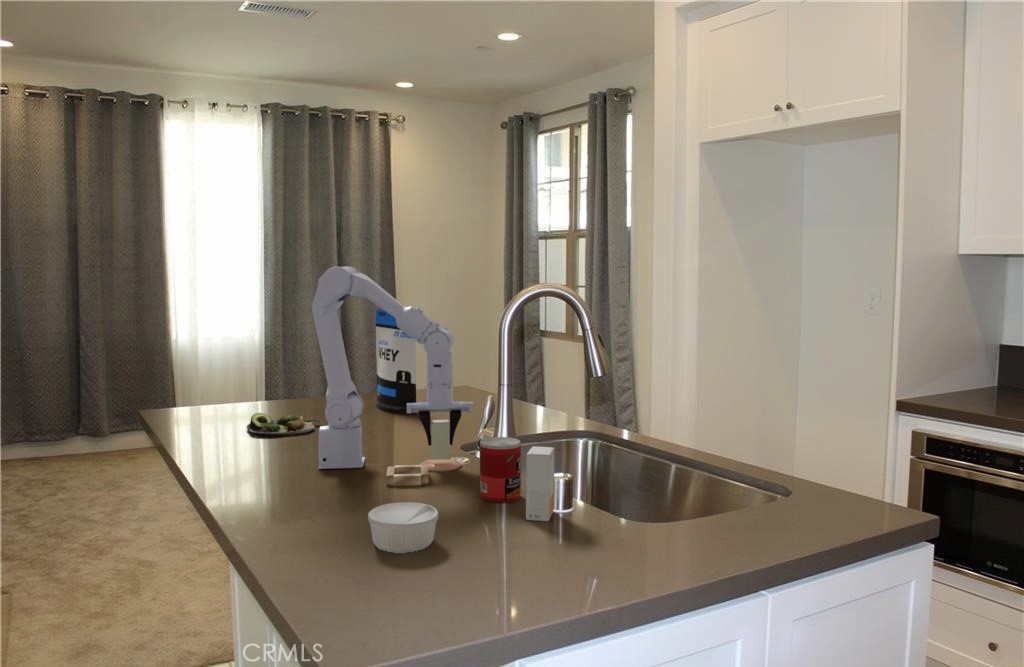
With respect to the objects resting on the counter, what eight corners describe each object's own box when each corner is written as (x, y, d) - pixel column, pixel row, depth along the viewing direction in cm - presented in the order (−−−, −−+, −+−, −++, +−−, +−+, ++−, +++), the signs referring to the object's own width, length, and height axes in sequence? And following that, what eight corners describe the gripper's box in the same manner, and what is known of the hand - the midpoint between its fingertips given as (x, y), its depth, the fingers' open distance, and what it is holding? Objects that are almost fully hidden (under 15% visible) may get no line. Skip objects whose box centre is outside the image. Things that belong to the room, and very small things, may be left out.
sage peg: (431, 459, 173) (431, 423, 172) (431, 455, 177) (430, 420, 176) (449, 459, 173) (449, 423, 173) (449, 454, 177) (448, 419, 177)
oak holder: (386, 486, 160) (386, 476, 160) (388, 474, 168) (387, 465, 168) (428, 484, 161) (428, 475, 161) (428, 473, 169) (428, 464, 169)
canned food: (512, 505, 148) (512, 447, 147) (473, 500, 151) (473, 443, 150) (526, 493, 155) (526, 438, 154) (488, 489, 158) (488, 435, 157)
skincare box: (549, 522, 138) (549, 455, 137) (525, 520, 139) (525, 453, 138) (554, 511, 144) (554, 446, 143) (531, 509, 145) (531, 445, 144)
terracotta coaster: (420, 472, 170) (419, 469, 170) (420, 461, 179) (420, 459, 179) (461, 471, 171) (461, 468, 171) (459, 460, 180) (459, 457, 180)
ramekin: (444, 552, 124) (444, 519, 124) (373, 560, 121) (372, 526, 121) (431, 529, 135) (431, 499, 134) (365, 535, 132) (364, 504, 131)
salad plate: (314, 421, 226) (314, 405, 225) (329, 433, 210) (328, 416, 209) (243, 427, 217) (242, 411, 217) (253, 441, 201) (252, 423, 201)
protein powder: (390, 401, 255) (388, 308, 252) (430, 413, 236) (429, 312, 233) (363, 405, 249) (361, 309, 246) (402, 417, 230) (401, 314, 227)
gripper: (406, 386, 169) (406, 449, 170) (473, 385, 170) (474, 447, 172) (406, 381, 176) (407, 441, 177) (471, 380, 177) (472, 440, 179)
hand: (440, 444), depth 175 cm, fingers closed on sage peg, 4 cm apart
